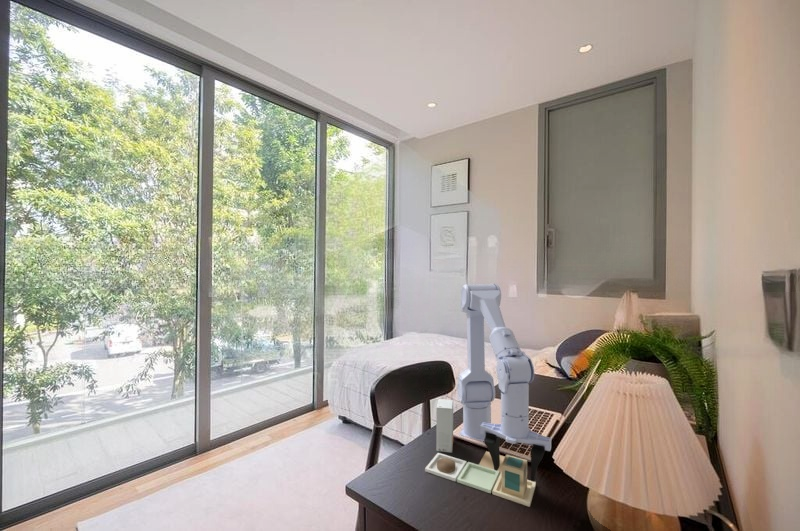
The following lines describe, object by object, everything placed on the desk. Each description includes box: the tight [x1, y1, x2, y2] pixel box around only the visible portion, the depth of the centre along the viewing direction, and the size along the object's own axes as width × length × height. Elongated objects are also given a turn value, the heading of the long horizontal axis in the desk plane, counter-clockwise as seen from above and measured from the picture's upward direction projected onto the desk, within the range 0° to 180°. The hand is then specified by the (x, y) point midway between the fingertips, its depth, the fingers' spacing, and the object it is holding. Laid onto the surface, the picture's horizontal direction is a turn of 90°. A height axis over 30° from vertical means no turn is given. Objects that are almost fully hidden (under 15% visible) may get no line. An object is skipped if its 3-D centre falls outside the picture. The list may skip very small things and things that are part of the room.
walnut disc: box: [437, 458, 455, 473], centre depth 83 cm, size 4×4×1 cm
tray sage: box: [456, 461, 500, 494], centre depth 79 cm, size 8×8×1 cm
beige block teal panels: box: [501, 454, 528, 499], centre depth 75 cm, size 5×4×6 cm
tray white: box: [424, 452, 468, 482], centre depth 83 cm, size 8×8×1 cm
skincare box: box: [435, 398, 454, 453], centre depth 93 cm, size 6×4×12 cm
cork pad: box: [478, 450, 506, 474], centre depth 85 cm, size 7×7×1 cm
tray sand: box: [491, 472, 537, 508], centre depth 75 cm, size 8×8×1 cm
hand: (514, 473), depth 75 cm, fingers open, 7 cm apart
